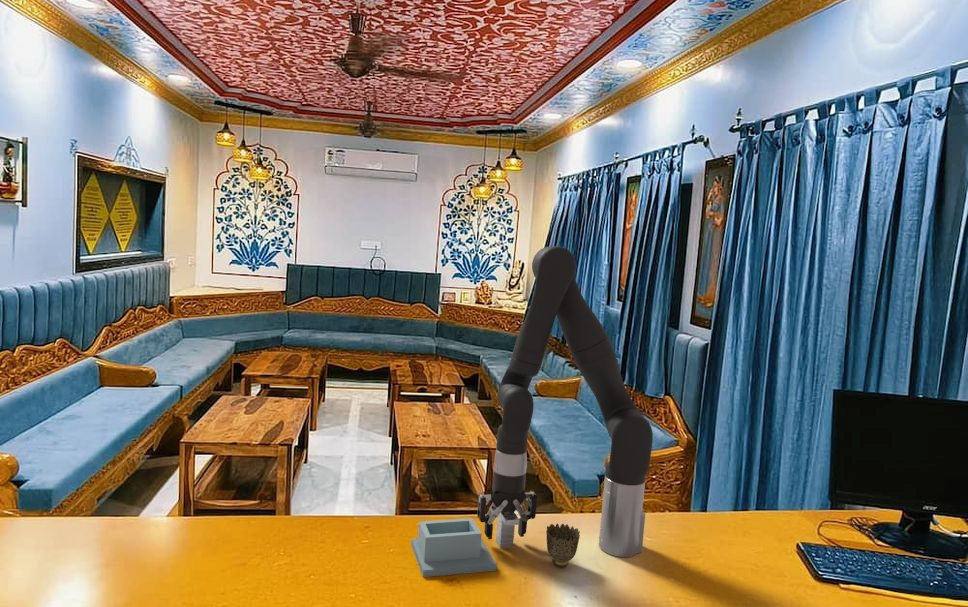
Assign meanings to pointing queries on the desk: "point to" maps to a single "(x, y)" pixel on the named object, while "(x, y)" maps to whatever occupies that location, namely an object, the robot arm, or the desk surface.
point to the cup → (562, 543)
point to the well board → (451, 548)
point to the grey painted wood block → (506, 529)
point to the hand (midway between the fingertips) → (504, 536)
